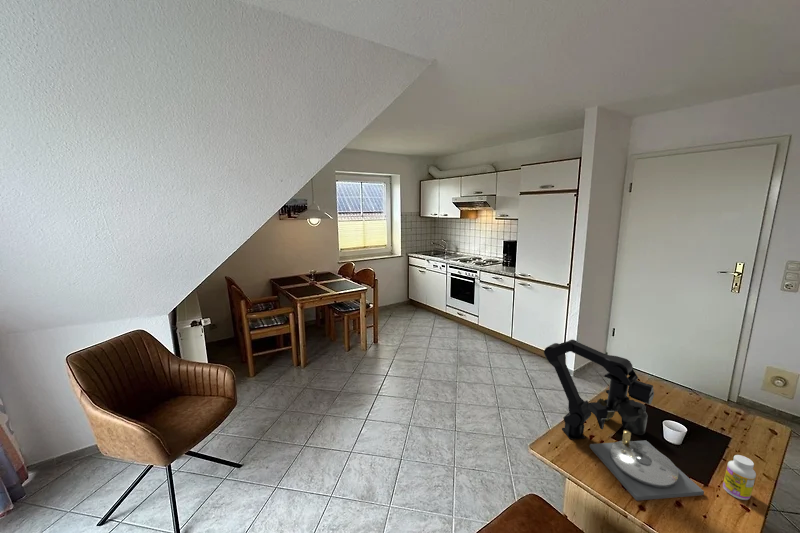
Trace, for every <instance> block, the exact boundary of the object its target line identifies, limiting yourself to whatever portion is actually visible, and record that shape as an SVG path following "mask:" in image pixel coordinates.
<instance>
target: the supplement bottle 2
mask: <svg viewBox="0 0 800 533" xmlns="http://www.w3.org/2000/svg"><path fill="white" fill-rule="evenodd" d="M754 466H755V463H754V462H753V460H752V459H750V458H748V457H746V456H744V455H741V454H735V455H734V456H733V460H729V461H728V462H727V466H726V470H725V475H724V477H723V482H722V488H723V489H724V490H725V492H726V493H727V494H729V495H731V496H732V497H734V498H735V499H738V500H743V501H748V500H750V498H751V496H752V493H753V488H754V484H755V482H756V477H757V473H756V471H755V470H754Z"/></svg>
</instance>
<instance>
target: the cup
mask: <svg viewBox="0 0 800 533" xmlns="http://www.w3.org/2000/svg"><path fill="white" fill-rule="evenodd" d="M596 402H599V403H600V404H601V405H603V406H607V403H605V399H604V398H599V399H597V401H596ZM615 413H616V412H615V411H614V412H608V415H607V416H606V417H607V419H605V422H609V421H610V419H611V418H613V417H614V415H615Z"/></svg>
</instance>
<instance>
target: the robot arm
mask: <svg viewBox="0 0 800 533" xmlns="http://www.w3.org/2000/svg"><path fill="white" fill-rule="evenodd" d="M569 352H571V353H573V354H575V355H578V356H580V357H582V358H583V359H586V360H587V361H588V360H589V361H591V362H592V363H595V364H597V365H600V366H601V367H602V368H603V369H604V370H605V371H606V372H607V373H605V374H604V377H605V378H606V379H609V387H608V389H605V393H606V394H607V399H606V398H605V399H604V400H605V403H607V406H603V405H601V404H600V403H599V402H597V401H595V402H593V401H592V402H589V401H588V400H584V399H582V397H581V396H580V393H579V392H578V389H577V386H576V384H575V383H574V380H573V377H572V375H571V372H570V370H569V368H568V366H567V358H566V357H567V355H566V353H567V354H568V353H569ZM543 354H544V357H545V358H546V360H547V362H548V363H549V364H550V365H551V366H553V368H554V370H555V372H556V375H557V377H558V379H559V381H560V384H561V387H562V389H563V391H564V393H565V395H566V398H567V401H568V403H567V404H568V413H566V414H565V415H564V416H563V417H562V418H563V420H564V427H561V430H562V431H563V432H564V434H566V435H565V436H567V437H568V438H569V440H579V439H580V440H581V439H583V440H584V439H585V438H586V436H584V432H585V423H586V421H587V420H588V419H589V418H590V417H591V416H592V414H593V415H594V416H595V418H596V421H597V424H598V426H599V428H600V429H601V430H604V427H605V422H606V421H605V419H607V417H606V416H607V415H608V412H614V411H615V413H616V412H617V413H618V415H619V416H620V418H621V426H622V428H624V429H625V428H626V426H627V424H628V423H629V422H630V421H636V419H637V418H641V416H642V415H643V411H644V410H643V407H642V406H640V405H639V404H638V403H636V402H637V401H638V402H640V403H641V402H642V403H643V404H646V405H651V404H652V402H653V400H654V396H655V390H654V385H653V384H650V383H646V382H643V381H640V380H638V379H639V376H638V375H637V373H636V372H635V370H634V367H633V364H632V362H631V361H630V359H627V358H624V357H622V356H617V355H610V354H606V353H605V352H604V353H603V352H602V351H600V350H597V349H594V348H592V347H590V346H588V345H586V344H583V343H580V342H579V341H577V340H576V339H570V340H568V341H564V342H561V343H558V342H554V343H552V344H550V345H548V346H547V347H545V348H544V350H543ZM628 396H629V397H628ZM630 398H631V399H630ZM633 399H634V400H633ZM635 400H636V401H635Z"/></svg>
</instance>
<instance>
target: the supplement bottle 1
mask: <svg viewBox="0 0 800 533" xmlns="http://www.w3.org/2000/svg"><path fill="white" fill-rule="evenodd" d="M635 402H636V403H638V404H639V405H640V406H642V407H643V410H644V411H643V415H642V416H641V418H637V419H636V421H630V422H629V423H628V424H627V426H626V427H625V428H626V430H627V431H630V432H631V434H634V435H637V436H643V435H644V434H645V433H646V428H647V423H648V413H647V412H646V409H647V406H646V405H645V403H643V402H642V403H641V402H640V401H635Z"/></svg>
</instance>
